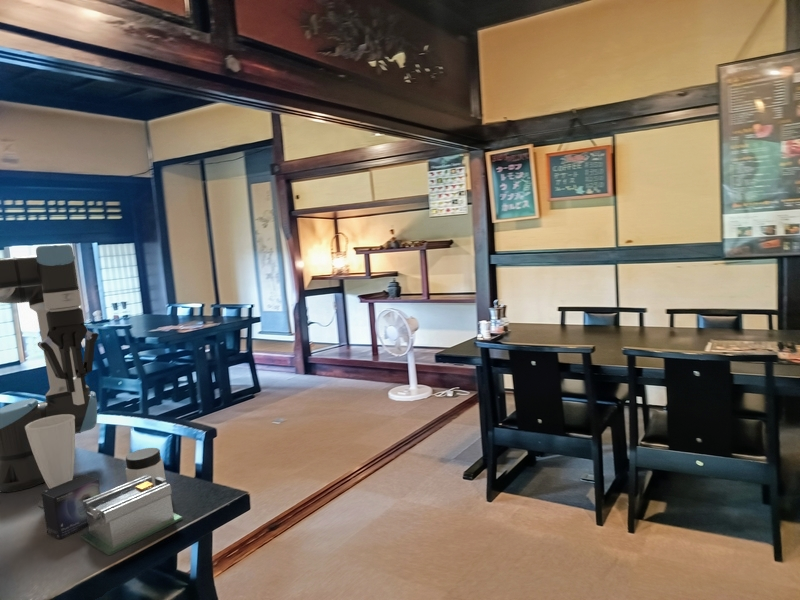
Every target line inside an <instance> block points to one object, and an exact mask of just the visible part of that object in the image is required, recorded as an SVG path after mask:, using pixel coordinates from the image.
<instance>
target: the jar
mask: <svg viewBox="0 0 800 600" xmlns="http://www.w3.org/2000/svg"><path fill="white" fill-rule="evenodd" d="M125 462H126V468H124V469H125V470H124V471H125V477H126V481H127V482H126V483H128V482H131V481H133V480H136V479H138V478H141V477H143V476H145V475H148V476H151V477H152V483H153V485H154V487H156V485H155V478H156V477H158V476H159V477H161V478H164V479H166V474H165V467H164V459H163V458H162V457H161V450H160V449H159V448H157V447H146V448H141V449H138V450H135V451H133V452H130V453H128V454H127V455H126V457H125Z"/></svg>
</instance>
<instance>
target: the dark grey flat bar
mask: <svg viewBox="0 0 800 600" xmlns="http://www.w3.org/2000/svg"><path fill="white" fill-rule="evenodd" d="M153 487H154V485H153V484H152V483H150V482H148V481H146V482H144V483H142V484H140V485H138V486H136V489H134V490H132V491H130V492H128V493H126V494H124V495H122V496H119V497H117V498H115V499H113V500H111V501H109V502H106V503H104V504H102V505H100V506H98V507H96V508H94V507H92V506H90V507H88V508H87V509H86V514H87V516H89V517H91V518H94V519H96V520H99V519H101V515H100V510H102V509H105V508H107V507H109V506H112V505H114V504H116V503H119V502H121V501H123V500H126V499H128V498H130V497H132V496H135V495H137V494H139V493H142V492H144V491H146V490H149V489H151V488H153Z"/></svg>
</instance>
